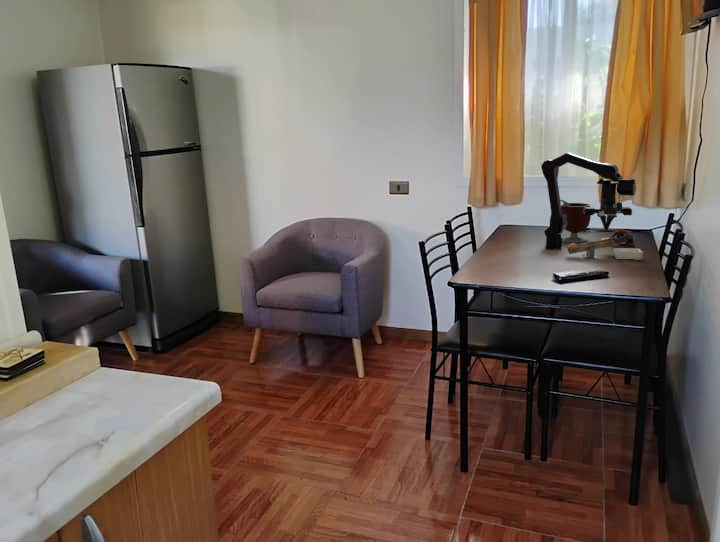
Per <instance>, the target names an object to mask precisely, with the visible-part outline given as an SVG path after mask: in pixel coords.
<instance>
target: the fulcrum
mask: <svg viewBox="0 0 720 542" xmlns="http://www.w3.org/2000/svg"><path fill="white" fill-rule="evenodd" d="M595 253H596V249H595V247H590V250H588V251H586V253H585V254H582V256H584V257H583V258H584V259H585V260H586V259H598V260H600V259H599V257H598V255H596V254H595Z"/></svg>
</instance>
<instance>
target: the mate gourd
mask: <svg viewBox="0 0 720 542" xmlns="http://www.w3.org/2000/svg"><path fill="white" fill-rule="evenodd" d="M560 202H561V210H562V212H563V214H564V215H565V214H567V221H568V223H567V227H566V228H565V229H564V230H565V231H567V232H569V233H570V235H569V236H561V238H562V242H564V241H566V242H565V243H571V242H581V243H586V242H585V241H587V242H588V241H589V240H588V239H589V238H586V237H583V236H579V233H580V232H583V231H585V230H586V229H587V228H589V225H590V222H591V216H592V215H584V214H583V208H584V207H591V204H589V203H586V202H585V203H583V202H567V201H565V200H563V199H560Z"/></svg>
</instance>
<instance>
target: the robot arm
mask: <svg viewBox="0 0 720 542" xmlns="http://www.w3.org/2000/svg"><path fill="white" fill-rule="evenodd" d="M566 164H571V165H574V166H577V167H580V168H582V169H585V170H589V171H591V172H594V173H595V174H597V175H598V176H599V177H601V178H600V179H599V180H598V181H597V182H596V184H598V185H601V188H600V189H601V192H600V204H599V208H595V207H593V206H590V207H584V208H583V214H584V215H591V216H594V215H595V214H596V216H597V217H598V218H600V220H601V221H600V222H601V224H602V226H603V229H604V232H608V230H609V228H610V226H611V223H612V222H613V220H614V219H615V218H618V215H617V214H622V215H623V216H632V215H633V209H632V208H630V207H629V206H623V202H616V200H617V199H616V196H617V195H616V194H618V195H619V196H628V197H629V196H633V197H634V196H635V195H636V192H637V183H636V179H635V178H630V179H629V178H627V179H626V178H623V176H621V174H620V173H619V171H620V170H619V167H618V166H617V165H616V164H613V163H606V162H599V161H598V162H597V161H594V160H591V159H589V158H586V157H583V156H580V155H577V154H574V153H572V152H566V153H564V154H563V155H560V156H557V157H556V158H552V159H547V160H545V161H543V162H542V164H541V171H542V175H543V177H544V178H545V181H546V183H547V184H546V185H547V190H548V191H547V192H548V199H549V206H550V217H549V218H550V219H549V227H547V228H546V229H545V230H544V231H543V233H544V235H545V245H544V247H545V249H546V250H562V247H563V241H562V233H563V231H564V230H565V228H566V227H567V223H568V221H567V214H565V215H564V214H563V212H562V210H561V206H562V202H561V201H560V200H561V197H560V195H561V194H560V190H559V189H560V188H559V182H558V177H559V171H560V167H562V166H564V165H566Z"/></svg>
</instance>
